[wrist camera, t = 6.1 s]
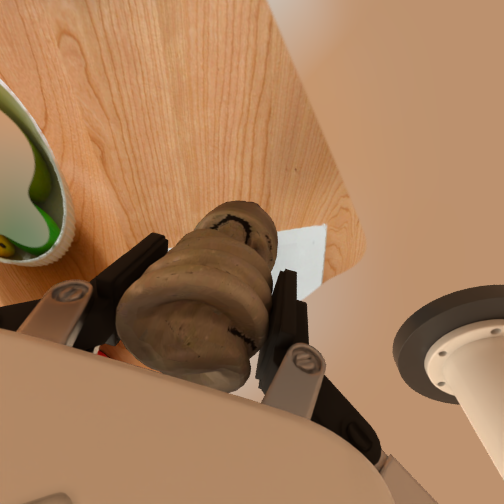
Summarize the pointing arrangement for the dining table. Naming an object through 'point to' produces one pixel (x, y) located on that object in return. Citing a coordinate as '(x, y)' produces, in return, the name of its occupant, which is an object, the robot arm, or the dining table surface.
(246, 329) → the light bulb
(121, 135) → the dining table surface
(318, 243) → the dining table surface
